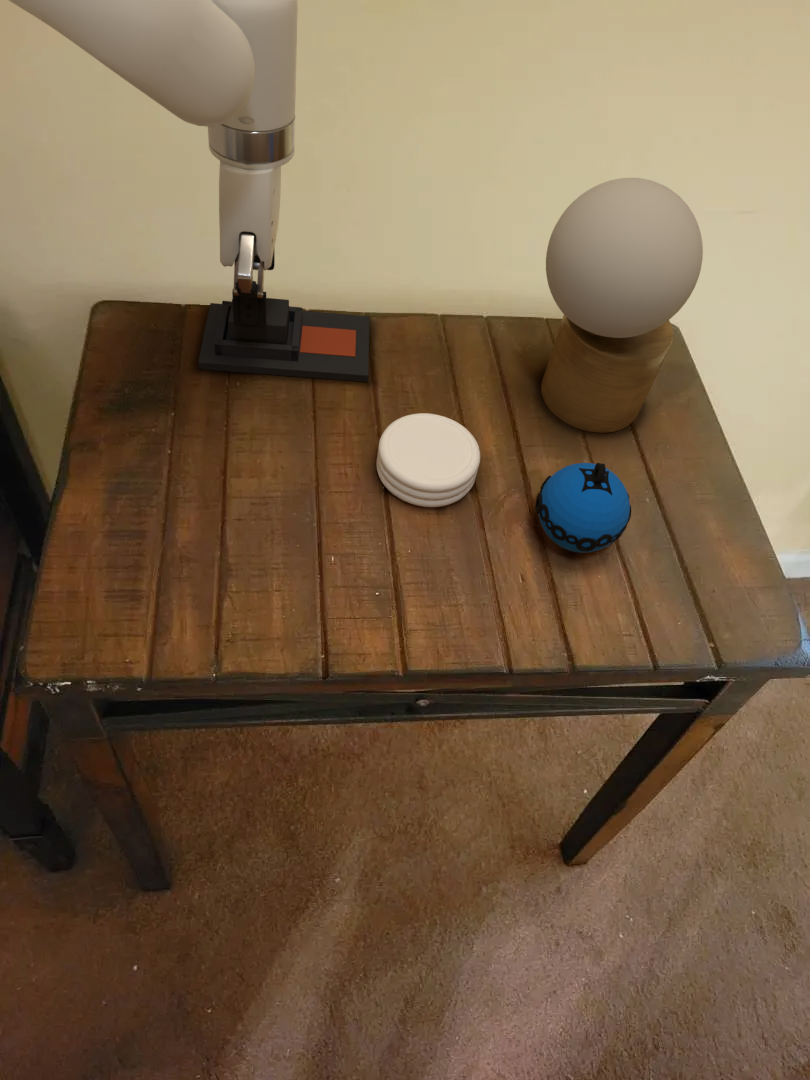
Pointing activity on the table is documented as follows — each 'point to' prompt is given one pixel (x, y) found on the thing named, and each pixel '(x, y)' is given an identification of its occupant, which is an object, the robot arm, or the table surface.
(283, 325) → the dark grey block
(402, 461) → the coaster
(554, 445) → the table surface
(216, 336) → the base pad
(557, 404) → the lamp
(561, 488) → the ornament
